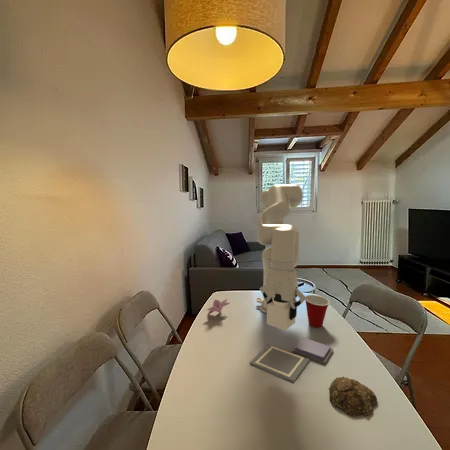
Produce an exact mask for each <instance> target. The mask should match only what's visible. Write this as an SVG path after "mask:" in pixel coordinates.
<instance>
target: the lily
mask: <svg viewBox="0 0 450 450" xmlns="http://www.w3.org/2000/svg"><path fill="white" fill-rule="evenodd" d="M230 304H231V303H230V302H228V298H226V299H224V300H223V301H220V300H218V299H215V300H213V302H212V306H211V307H208V308H207V309H206V311H208V312H207V316H209V315H210V314H213V313H214V312H217V313H220V315H221V319H222V320H224V318H223V315H222V310H223V307H226V306H228V305H230Z"/></svg>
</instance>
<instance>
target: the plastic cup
mask: <svg viewBox="0 0 450 450" xmlns="http://www.w3.org/2000/svg"><path fill="white" fill-rule="evenodd" d="M304 296H305V297H306V299H305V300H304V301H305V305H306V306H305V307H306V313H307V319H308V320H307V321H308V324H309V326H311V327H313V328H318V329H319V328H321V327H323V324H324V320H325V318H326V315H327V314H326V312H327V309H328V307H329V305H330V303H331V302H330V300H329V299H327V297H324V296H320V295H316V294H308V295H304Z"/></svg>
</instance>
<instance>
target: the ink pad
mask: <svg viewBox="0 0 450 450" xmlns="http://www.w3.org/2000/svg"><path fill="white" fill-rule="evenodd" d="M333 352H334V348H332V347H331V346H330V345H326V344H323V343H322V342H318V341H315V340H313V339H308V338H305V337H303V338H301V339H300V340H299V342H298V343H297V344H296V345H295V346H294V347H293V348H292V349H291V353H294V354H297V355H299V356H303V357H306V358H308V359H310V360H311V361H314V362H316V361H317V363H319V364H323V365H326V363H327V362H328V360H329V359H330V357H331V355H332V354H333Z"/></svg>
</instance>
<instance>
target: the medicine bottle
mask: <svg viewBox="0 0 450 450" xmlns="http://www.w3.org/2000/svg"><path fill="white" fill-rule="evenodd" d="M290 308H291V305H290V303H289V302H288V301H284V300H281V295H280V294H275V298H273V302H271V303H269V304H267V313H266V324H267V325H269V326H272V327H274V328H277V329H279V330H282V331H286V330H288V329H289V328H291V327H292V326H293V325H295V323H296V317H295V318H294V319H293V320H290Z"/></svg>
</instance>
